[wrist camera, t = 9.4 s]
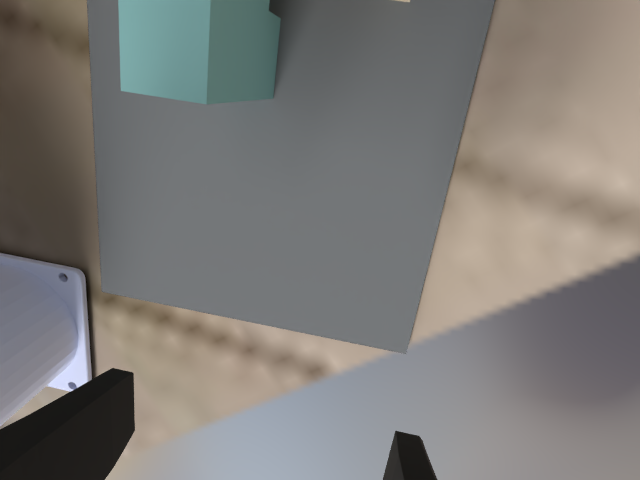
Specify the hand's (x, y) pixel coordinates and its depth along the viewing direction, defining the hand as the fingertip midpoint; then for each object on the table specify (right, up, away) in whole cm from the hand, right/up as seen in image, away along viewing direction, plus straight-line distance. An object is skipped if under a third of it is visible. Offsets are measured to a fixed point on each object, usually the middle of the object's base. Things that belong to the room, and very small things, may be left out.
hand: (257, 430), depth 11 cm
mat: (-1, +10, +7) cm, 12 cm away
